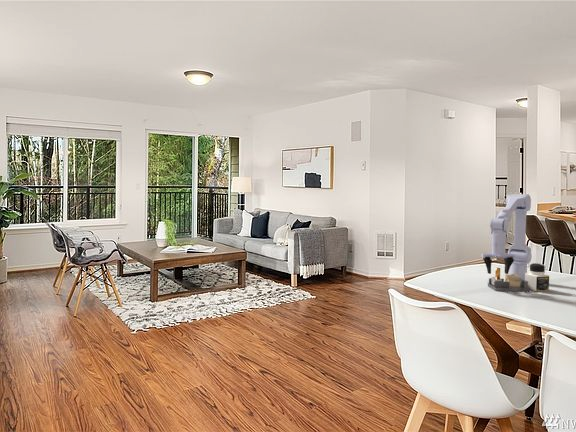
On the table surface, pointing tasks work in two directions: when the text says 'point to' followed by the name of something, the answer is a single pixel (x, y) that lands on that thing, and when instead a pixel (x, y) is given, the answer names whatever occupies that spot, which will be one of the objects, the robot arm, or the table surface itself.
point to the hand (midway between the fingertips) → (497, 273)
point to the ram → (496, 276)
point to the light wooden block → (513, 280)
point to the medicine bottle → (537, 278)
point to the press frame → (505, 286)
